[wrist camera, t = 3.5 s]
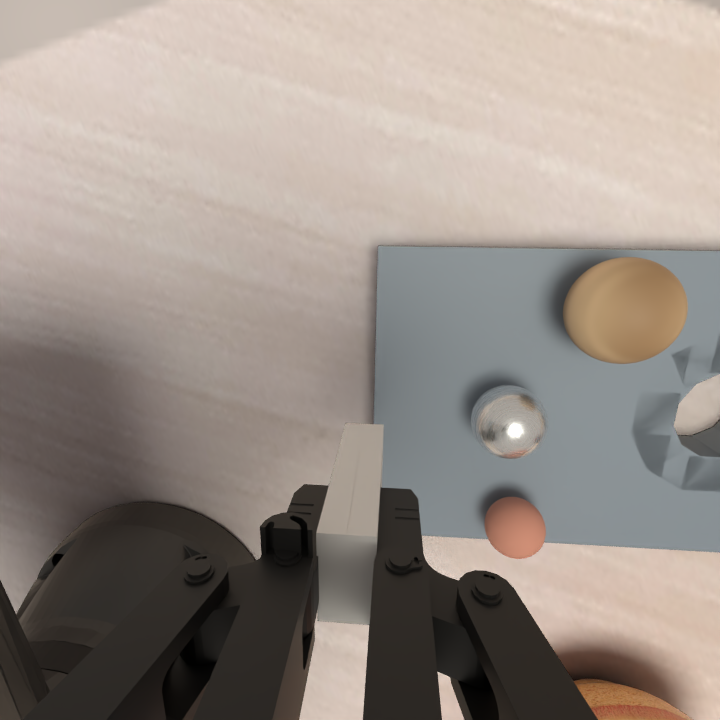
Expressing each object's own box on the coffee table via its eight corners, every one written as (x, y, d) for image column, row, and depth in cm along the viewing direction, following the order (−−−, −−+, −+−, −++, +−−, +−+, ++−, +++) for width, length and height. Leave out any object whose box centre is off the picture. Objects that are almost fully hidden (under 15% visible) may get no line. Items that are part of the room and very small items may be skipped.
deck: (372, 506, 27) (371, 532, 25) (379, 245, 23) (378, 246, 20) (790, 528, 26) (832, 558, 23) (883, 253, 21) (946, 254, 19)
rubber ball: (477, 530, 24) (488, 570, 21) (481, 484, 23) (494, 518, 20) (531, 534, 24) (550, 574, 21) (537, 486, 23) (559, 522, 20)
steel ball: (462, 437, 23) (475, 471, 19) (468, 374, 22) (482, 399, 18) (530, 440, 22) (554, 475, 19) (538, 376, 22) (565, 402, 18)
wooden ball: (542, 347, 21) (581, 375, 17) (554, 254, 20) (600, 258, 16) (636, 350, 21) (701, 379, 16) (655, 255, 20) (730, 260, 15)
